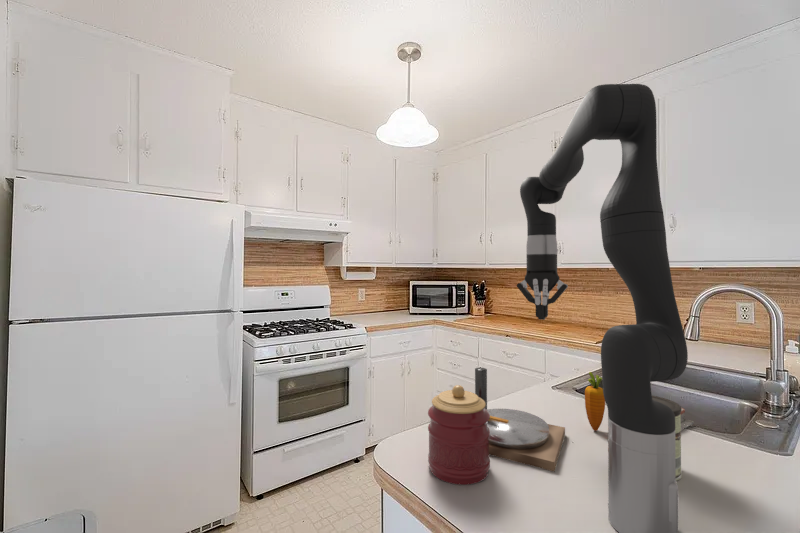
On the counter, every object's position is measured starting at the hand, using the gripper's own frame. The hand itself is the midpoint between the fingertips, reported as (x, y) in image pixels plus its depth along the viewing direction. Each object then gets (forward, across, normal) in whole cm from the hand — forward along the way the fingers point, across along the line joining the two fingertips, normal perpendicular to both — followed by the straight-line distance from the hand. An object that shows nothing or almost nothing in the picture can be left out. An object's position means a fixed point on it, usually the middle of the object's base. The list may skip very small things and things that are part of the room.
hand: (541, 319), depth 96 cm
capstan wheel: (+27, -6, -10) cm, 29 cm away
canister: (+29, -12, -28) cm, 42 cm away
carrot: (+29, +12, +6) cm, 32 cm away
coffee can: (+29, +23, -8) cm, 38 cm away
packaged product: (+30, +26, +18) cm, 44 cm away
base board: (+29, -6, -10) cm, 31 cm away
